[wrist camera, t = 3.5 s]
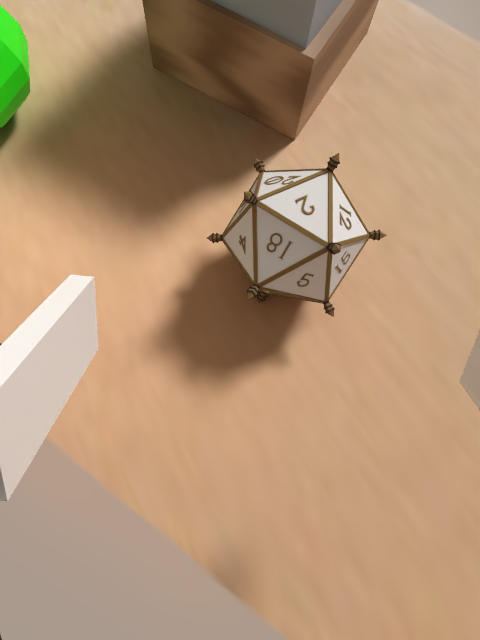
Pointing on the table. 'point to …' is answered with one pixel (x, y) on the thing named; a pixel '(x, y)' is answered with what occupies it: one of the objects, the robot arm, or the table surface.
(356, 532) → the table surface
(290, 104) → the tower base
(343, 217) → the game die
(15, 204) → the table surface
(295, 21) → the tower top
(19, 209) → the table surface
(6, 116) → the plastic bottle
